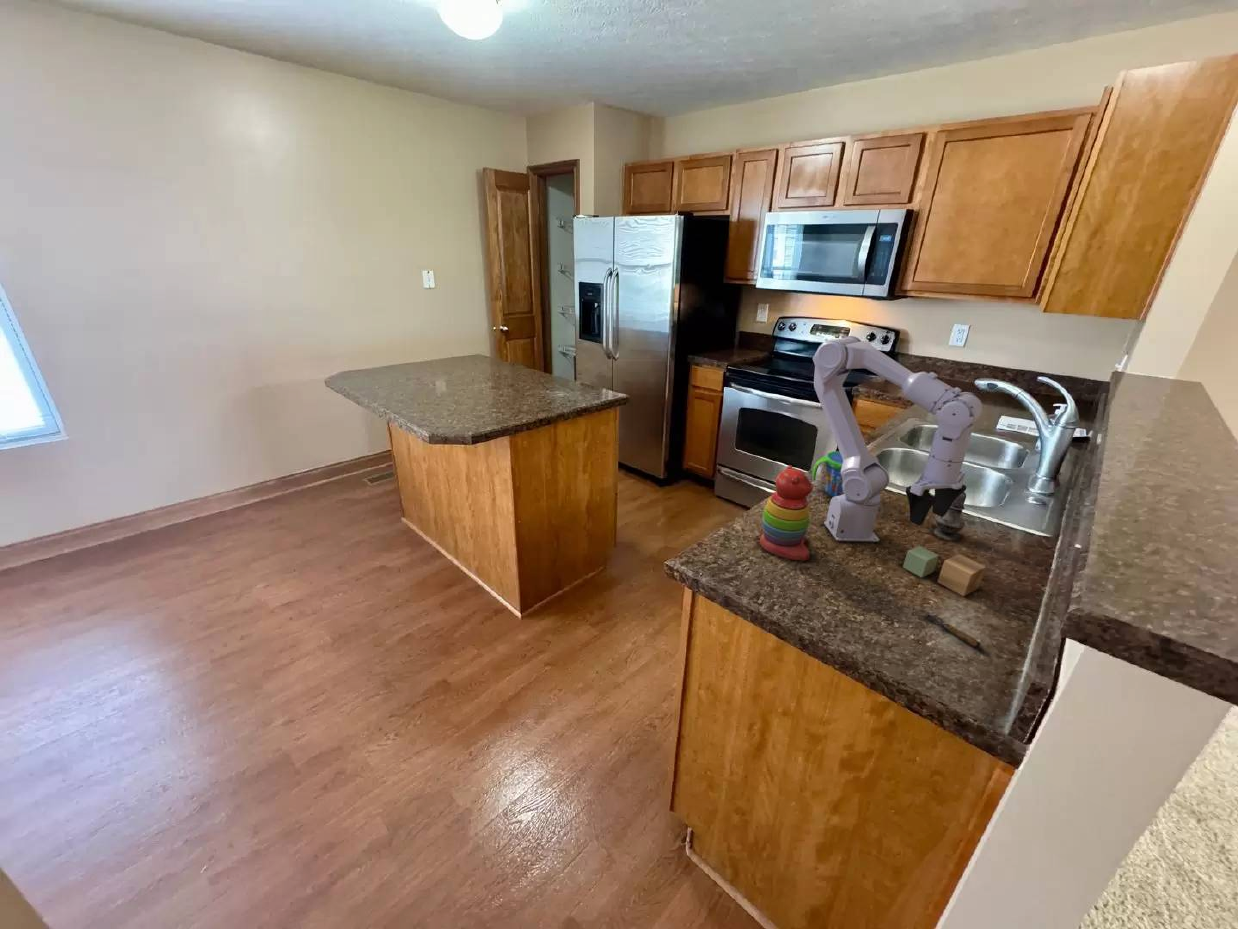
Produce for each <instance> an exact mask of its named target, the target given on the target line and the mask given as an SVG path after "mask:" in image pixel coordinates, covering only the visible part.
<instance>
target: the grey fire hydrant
mask: <svg viewBox="0 0 1238 929" xmlns="http://www.w3.org/2000/svg"><path fill="white" fill-rule="evenodd" d="M966 499H967V493H966V491H964V492H963V493H961V494H960V495H959V496H958V497H957V498H956V500H955V501H954V502H953V504H952V505H951V507H950V508H949V510H948V511H947V513H946V514H945V515H944V516H943V517H941V516H939V515H936V514H935V517H934V518H935V524H936V527H934V528H933V529H932V534H934V536H936V537H938V538H940V539H942V540H946V541H958V540H959V539H960V535H959V534H958V533H960V532H961V531H962V530H963V528H965V527H966V522H965V521H964V520H963V519H961V515H962V512H963V510H965V509H966V508H965V506H964V505H965V502H966Z"/></svg>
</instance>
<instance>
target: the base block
mask: <svg viewBox="0 0 1238 929" xmlns="http://www.w3.org/2000/svg"><path fill="white" fill-rule="evenodd" d="M985 570H986V566H985V565H984V564H981V563H979V562H977V561H975V560H972V559H970V558H968V557H966V556H964V555H962V554H960V553H957V554H955V555H954V556H951V557H949V558H947V559H945V560H943V564H942V567H941V569H940V573H939V575H938V579H937V583H938V584H940V585H942V586H944V587H945V588H947V589H949V590H951V591H953V592H954V593H956V594H958V595H960V596H962V597H965V596H967V595H969V594H971V593H973V592H974V591H976V590H978V589H979V587H980V584H981V581H982V579H983V576H984V573H985Z"/></svg>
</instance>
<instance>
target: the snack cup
mask: <svg viewBox="0 0 1238 929" xmlns="http://www.w3.org/2000/svg"><path fill="white" fill-rule="evenodd" d="M823 463H825V464H826V466H825V468H826V470H825V489H824V491H825V493H827V494H828V495H829V496H831V497H832V498H833V497H835V496H840V495H843V494H844V492H843V488H842V485H843V479H842V476H841V468H842V464H843V459H842V456H841V454H840V451H839V450H833V451H830V452H828V453H827V454H826V455H825V456H823V457H821V458H819V459H817V461H816V462H815V463H814V465H813V468H812V471H811V472H812V480H813V481H816V480H817V479H816V475H817V473H818V472H817V471H818V469H819V466H820V465H821V464H823Z"/></svg>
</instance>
